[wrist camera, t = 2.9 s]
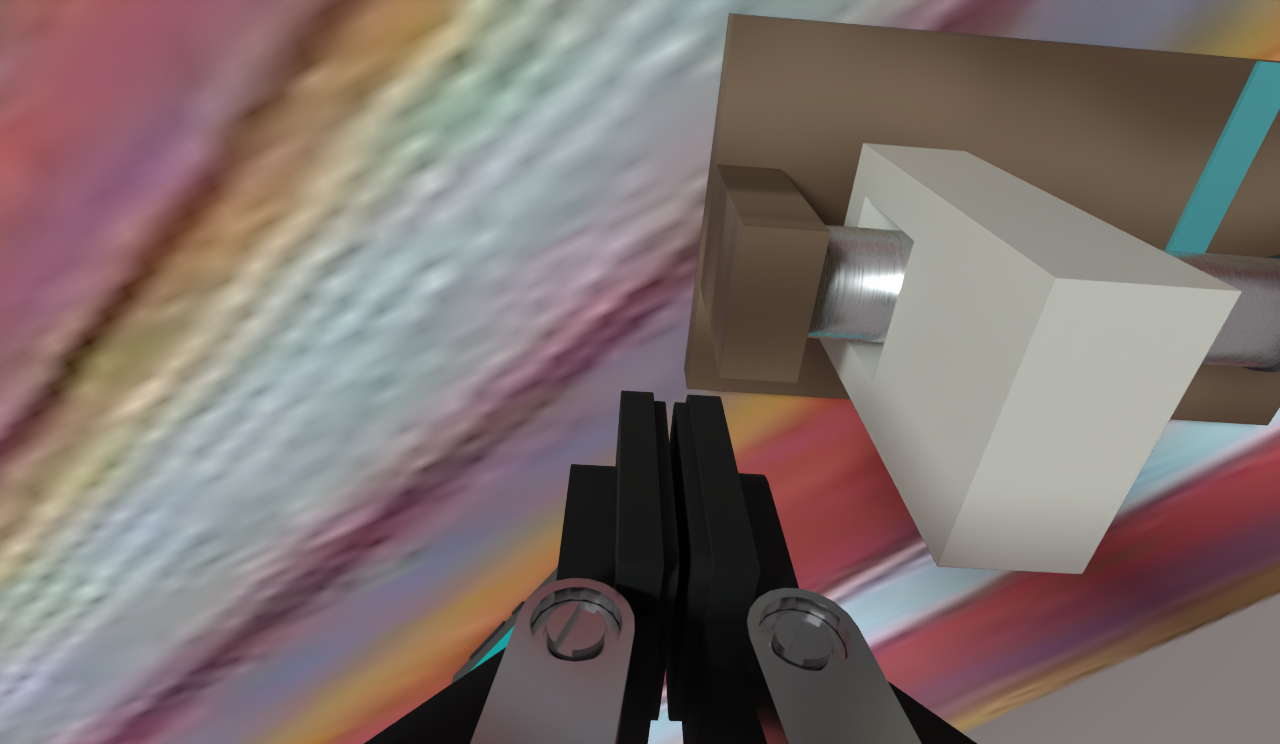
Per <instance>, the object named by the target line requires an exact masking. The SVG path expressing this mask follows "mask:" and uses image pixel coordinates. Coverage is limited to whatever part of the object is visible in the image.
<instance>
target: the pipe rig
mask: <svg viewBox="0 0 1280 744" xmlns="http://www.w3.org/2000/svg"><path fill="white" fill-rule="evenodd" d="M863 143H869V144H881V145H894V146H906V147H919V148H931V149H944V150H957V151H966V152H968V153H970V154H972V155H974V156H976V157H978V158H980V159H982V160H984V161H986V162H988V163H990V164H992V165H994V166H996V167H998V168H1000V169H1002V170H1004V171H1006V172H1008V173H1010V174H1012V175H1014V176H1015V177H1017V178H1019V179H1021V180H1023V181H1025V182H1027V183H1029V184H1031V185H1033V186H1035V187H1037V188H1039V189H1041V190H1043V191H1045V192H1047V193H1049V194H1051V195H1053V196H1055V197H1057V198H1059V199H1061V200H1063V201H1065V202H1067V203H1069V204H1071V205H1073V206H1075V207H1077V208H1079V209H1081V210H1083V211H1085V212H1086V213H1088V214H1090V215H1092V216H1094V217H1096V218H1098V219H1100V220H1102V221H1104V222H1106V223H1108V224H1110V225H1112V226H1114V227H1116V228H1118V229H1120V230H1122V231H1124V232H1126V233H1128V234H1130V235H1132V236H1134V237H1136V238H1138V239H1140V240H1142V241H1144V242H1146V243H1148V244H1150V245H1152V246H1154V247H1155V248H1157V249H1159V250H1161V251H1163V252H1165V253H1167V254H1169V255H1171V256H1173V257H1175V258H1177V259H1179V260H1181V261H1183V262H1185V263H1187V264H1189V265H1191V266H1193V267H1195V268H1197V269H1199V270H1201V271H1203V272H1205V273H1207V274H1209V275H1211V276H1213V277H1215V278H1217V279H1219V280H1221V281H1223V282H1225V283H1226V284H1228V285H1230V286H1232V287H1234V288H1236V289H1238V290H1240V291H1242V292H1241V294H1240V296H1239V298H1238V299H1237V301H1236V303H1235V305H1234V306H1233V308H1232V310H1231V312H1230V314H1229V315H1228V317H1227V319H1226V321H1225V322H1224V324H1223V326H1222V328H1221V329H1220V331H1219V333H1218V335H1217V337H1216V338H1215V340H1214V342H1213V344H1212V345H1211V347H1210V349H1209V351H1208V352H1207V354H1206V356H1205V358H1204V360H1203V361H1202V363H1201V365H1200V367H1199V368H1198V370H1197V372H1196V374H1195V375H1194V377H1193V379H1192V381H1191V383H1190V384H1189V386H1188V388H1187V390H1186V391H1185V393H1184V395H1183V397H1182V398H1181V400H1180V402H1179V404H1178V406H1177V407H1176V409H1175V411H1174V413H1173V414H1172V416H1171V418H1170V419H1175V420H1191V421H1207V422H1223V423H1238V424H1254V425H1268V424H1269V423H1270V421H1271V420H1272V418H1273V417H1274V415H1275V414H1276V412H1277V411H1278V409H1279V408H1280V61H1270V60H1259V59H1247V58H1236V57H1224V56H1213V55H1201V54H1190V53H1178V52H1167V51H1155V50H1144V49H1132V48H1121V47H1109V46H1098V45H1086V44H1075V43H1063V42H1052V41H1040V40H1029V39H1018V38H1006V37H995V36H983V35H972V34H960V33H949V32H937V31H926V30H914V29H903V28H891V27H880V26H868V25H857V24H845V23H834V22H822V21H811V20H799V19H788V18H776V17H765V16H753V15H742V14H731V13H729V17H728V25H727V33H726V41H725V49H724V57H723V65H722V73H721V81H720V89H719V97H718V105H717V113H716V121H715V129H714V136H713V144H712V152H711V160H710V168H709V176H708V184H707V192H706V200H705V208H704V216H703V224H702V232H701V240H700V248H699V256H698V263H697V271H696V279H695V287H694V295H693V303H692V311H691V319H690V327H689V335H688V343H687V351H686V359H685V367H684V370H685V378H686V386H687V389H698V390H714V391H730V392H746V393H762V394H778V395H794V396H810V397H825V398H841V399H850V397H849V395H848V393H847V391H846V389H845V387H844V385H843V383H842V381H841V379H840V377H839V375H838V374H837V372H836V370H835V368H834V366H833V364H832V362H831V360H830V358H829V356H828V354H827V352H826V350H825V348H824V346H823V345H822V343H821V341H820V339H819V338H823V339H838V340H853V341H868V342H883V343H885V340H886V336H887V333H888V329H889V326H890V323H891V319H892V316H893V312H894V309H895V305H896V302H897V298H898V295H899V292H900V288H901V285H902V281H903V278H904V274H905V271H906V267H907V264H908V261H909V257H910V254H911V250H912V247H913V243H914V241H913V240H912V239H911V238H910V237H909V236H908V235H907V234H906V233H905V232H904V231H899V230H886V229H872V228H859V227H845V226H844V223H845V219H846V215H847V210H848V206H849V202H850V198H851V193H852V189H853V185H854V180H855V176H856V172H857V168H858V163H859V159H860V155H861V151H862V146H863Z"/></svg>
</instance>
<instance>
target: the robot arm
mask: <svg viewBox="0 0 1280 744" xmlns="http://www.w3.org/2000/svg"><path fill="white" fill-rule="evenodd" d="M665 669H666V684H667V703H668V717H669V720H670V721H682V730H683V744H977V743H975V742H974V741H972V740H971V739H970V738H968V737H967V736H965V735H964V734H962V733H961V732H960V731H958V730H957V729H955V728H954V727H952V726H951V725H950V724H948V723H947V722H945V721H944V720H942V719H941V718H940V717H938V716H937V715H935V714H934V713H932V712H931V711H930V710H928V709H927V708H925V707H924V706H923V705H921V704H920V703H918V702H917V701H915V700H914V699H913V698H911V697H910V696H908V695H907V694H905V693H904V692H903V691H901V690H900V689H898V688H897V687H895V686H894V685H893V684H891V683H890V682H888V681H887V679H886V677H885V675H884V674H883V672H882V670H881V668H880V666H879V664H878V663H877V661H876V659H875V657H874V655H873V653H872V652H871V650H870V648H869V646H868V644H867V642H866V641H865V639H864V637H863V635H862V633H861V631H860V629H859V628H858V626H857V625H856V623H855V622H854V621H853V619H852V618H851V617H850V615H849V614H848V613H847V612H846V611H845V610H843V609H842V608H841V607H840V606H839V605H837V604H836V603H835V602H834V601H832V600H830V599H828V598H826V597H824V596H822V595H820V594H818V593H815V592H811V591H808V590H804V589H799V586H798V583H797V580H796V576H795V573H794V569H793V566H792V562H791V559H790V555H789V552H788V549H787V545H786V542H785V538H784V535H783V531H782V528H781V524H780V521H779V518H778V514H777V511H776V507H775V504H774V500H773V497H772V493H771V490H770V487H769V483H768V481H767V478H766V477H765V476H764V475H761V474H742V473H738V470H737V465H736V461H735V457H734V452H733V448H732V444H731V440H730V435H729V431H728V427H727V422H726V418H725V414H724V409H723V405H722V401H721V398H720V397H719V396H703V395H687V398H686V403H679V402H675V403H674V408H673V416H672V425H671V433H670V441H669V435H668V424H667V413H666V403H665V402H663V401H654V395H653V392H636V391H621V399H620V413H619V426H618V440H617V453H616V467H614V466H595V465H577V464H571V469H570V476H569V484H568V492H567V500H566V508H565V515H564V523H563V531H562V539H561V547H560V555H559V563H558V570H557V578H556V581H554V582H552V583H550V584H548V585H546V586H544V587H542V588H539V589H538V590H537V591H536V592H535V593H534V594H533V595H531V596H530V597H529V598H528V599H527V600H526V602H525V604H524V605H523V607H522V609H521V610H520V612H519V615H518V617H517V620H516V623H515V625H514V628H513V631H512V633H511V636H510V639H509V641H508V644H507V646H506V647H505V648H504V649H502V650H501V651H499V652H498V653H496V654H495V655H493V656H492V657H490V658H489V659H487V660H486V661H484V662H483V663H482V664H480V665H479V666H477V667H476V668H474V669H473V670H471V671H470V672H468V673H467V674H465V675H464V676H463V677H461V678H460V679H458V680H457V681H455V682H454V683H452V684H451V685H449V686H448V687H446V688H445V689H443V690H442V691H441V692H439V693H438V694H436V695H435V696H433V697H432V698H430V699H429V700H427V701H426V702H424V703H423V704H421V705H420V706H419V707H417V708H416V709H414V710H413V711H411V712H410V713H408V714H407V715H405V716H404V717H402V718H401V719H399V720H398V721H397V722H395V723H394V724H392V725H391V726H389V727H388V728H386V729H385V730H383V731H382V732H380V733H379V734H377V735H376V736H375V737H373V738H372V739H370V740H369V741H367V742H366V743H364V744H648V737H649V730H650V722H651V720H658V717H659V711H660V704H661V697H662V690H663V683H664V676H665Z"/></svg>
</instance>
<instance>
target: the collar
mask: <svg viewBox="0 0 1280 744" xmlns="http://www.w3.org/2000/svg"><path fill="white" fill-rule="evenodd" d="M844 226H845V227H859V228H872V229H886V230H899V231H904V232H905V233H906V234H907V235H908V236H909V237H910V238H911V239H912V240H913V241H914V243H913V247H912V250H911V254H910V257H909V261H908V264H907V267H906V271H905V274H904V278H903V281H902V285H901V288H900V292H899V295H898V298H897V302H896V305H895V309H894V312H893V316H892V319H891V323H890V326H889V329H888V333H887V336H886V340H885V343H883V342H868V341H853V340H838V339H823V338H819V339H820V341H821V343H822V345H823V346H824V348H825V350H826V352H827V354H828V356H829V358H830V360H831V362H832V364H833V366H834V368H835V370H836V372H837V374H838V375H839V377H840V379H841V381H842V383H843V385H844V387H845V389H846V391H847V393H848V395H849V397H850V399H851V401H852V403H853V404H854V406H855V408H856V410H857V412H858V414H859V416H860V418H861V420H862V422H863V424H864V426H865V428H866V430H867V432H868V433H869V435H870V437H871V439H872V441H873V443H874V445H875V447H876V449H877V451H878V453H879V455H880V457H881V459H882V461H883V462H884V464H885V466H886V468H887V470H888V472H889V474H890V476H891V478H892V480H893V482H894V484H895V486H896V488H897V490H898V491H899V493H900V495H901V497H902V499H903V501H904V503H905V505H906V507H907V509H908V511H909V513H910V515H911V517H912V518H913V520H914V522H915V524H916V526H917V528H918V530H919V532H920V534H921V536H922V538H923V540H924V542H925V544H926V546H927V547H928V549H929V551H930V553H931V555H932V557H933V559H934V561H935V563H936V565H937V567H956V568H975V569H994V570H1013V571H1032V572H1051V573H1070V574H1083V572H1084V570H1085V568H1086V567H1087V565H1088V563H1089V561H1090V560H1091V558H1092V556H1093V554H1094V552H1095V551H1096V549H1097V547H1098V545H1099V544H1100V542H1101V540H1102V538H1103V537H1104V535H1105V533H1106V531H1107V529H1108V528H1109V526H1110V524H1111V522H1112V521H1113V519H1114V517H1115V515H1116V514H1117V512H1118V510H1119V508H1120V506H1121V505H1122V503H1123V501H1124V499H1125V498H1126V496H1127V494H1128V492H1129V491H1130V489H1131V487H1132V485H1133V483H1134V482H1135V480H1136V478H1137V476H1138V475H1139V473H1140V471H1141V469H1142V468H1143V466H1144V464H1145V462H1146V460H1147V459H1148V457H1149V455H1150V453H1151V452H1152V450H1153V448H1154V446H1155V445H1156V443H1157V441H1158V439H1159V437H1160V436H1161V434H1162V432H1163V430H1164V429H1165V427H1166V425H1167V423H1168V421H1169V420H1170V418H1171V416H1172V414H1173V413H1174V411H1175V409H1176V407H1177V406H1178V404H1179V402H1180V400H1181V398H1182V397H1183V395H1184V393H1185V391H1186V390H1187V388H1188V386H1189V384H1190V383H1191V381H1192V379H1193V377H1194V375H1195V374H1196V372H1197V370H1198V368H1199V367H1200V365H1201V363H1202V361H1203V360H1204V358H1205V356H1206V354H1207V352H1208V351H1209V349H1210V347H1211V345H1212V344H1213V342H1214V340H1215V338H1216V337H1217V335H1218V333H1219V331H1220V329H1221V328H1222V326H1223V324H1224V322H1225V321H1226V319H1227V317H1228V315H1229V314H1230V312H1231V310H1232V308H1233V306H1234V305H1235V303H1236V301H1237V299H1238V298H1239V296H1240V294H1241V292H1242V291H1240V290H1238V289H1236V288H1234V287H1232V286H1230V285H1228V284H1226V283H1225V282H1223V281H1221V280H1219V279H1217V278H1215V277H1213V276H1211V275H1209V274H1207V273H1205V272H1203V271H1201V270H1199V269H1197V268H1195V267H1193V266H1191V265H1189V264H1187V263H1185V262H1183V261H1181V260H1179V259H1177V258H1175V257H1173V256H1171V255H1169V254H1167V253H1165V252H1163V251H1161V250H1159V249H1157V248H1155V247H1154V246H1152V245H1150V244H1148V243H1146V242H1144V241H1142V240H1140V239H1138V238H1136V237H1134V236H1132V235H1130V234H1128V233H1126V232H1124V231H1122V230H1120V229H1118V228H1116V227H1114V226H1112V225H1110V224H1108V223H1106V222H1104V221H1102V220H1100V219H1098V218H1096V217H1094V216H1092V215H1090V214H1088V213H1086V212H1085V211H1083V210H1081V209H1079V208H1077V207H1075V206H1073V205H1071V204H1069V203H1067V202H1065V201H1063V200H1061V199H1059V198H1057V197H1055V196H1053V195H1051V194H1049V193H1047V192H1045V191H1043V190H1041V189H1039V188H1037V187H1035V186H1033V185H1031V184H1029V183H1027V182H1025V181H1023V180H1021V179H1019V178H1017V177H1015V176H1014V175H1012V174H1010V173H1008V172H1006V171H1004V170H1002V169H1000V168H998V167H996V166H994V165H992V164H990V163H988V162H986V161H984V160H982V159H980V158H978V157H976V156H974V155H972V154H970V153H968V152H966V151H957V150H944V149H931V148H919V147H906V146H894V145H881V144H869V143H863V146H862V151H861V155H860V159H859V163H858V168H857V172H856V176H855V180H854V185H853V189H852V193H851V198H850V202H849V206H848V210H847V215H846V219H845V223H844Z"/></svg>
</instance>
